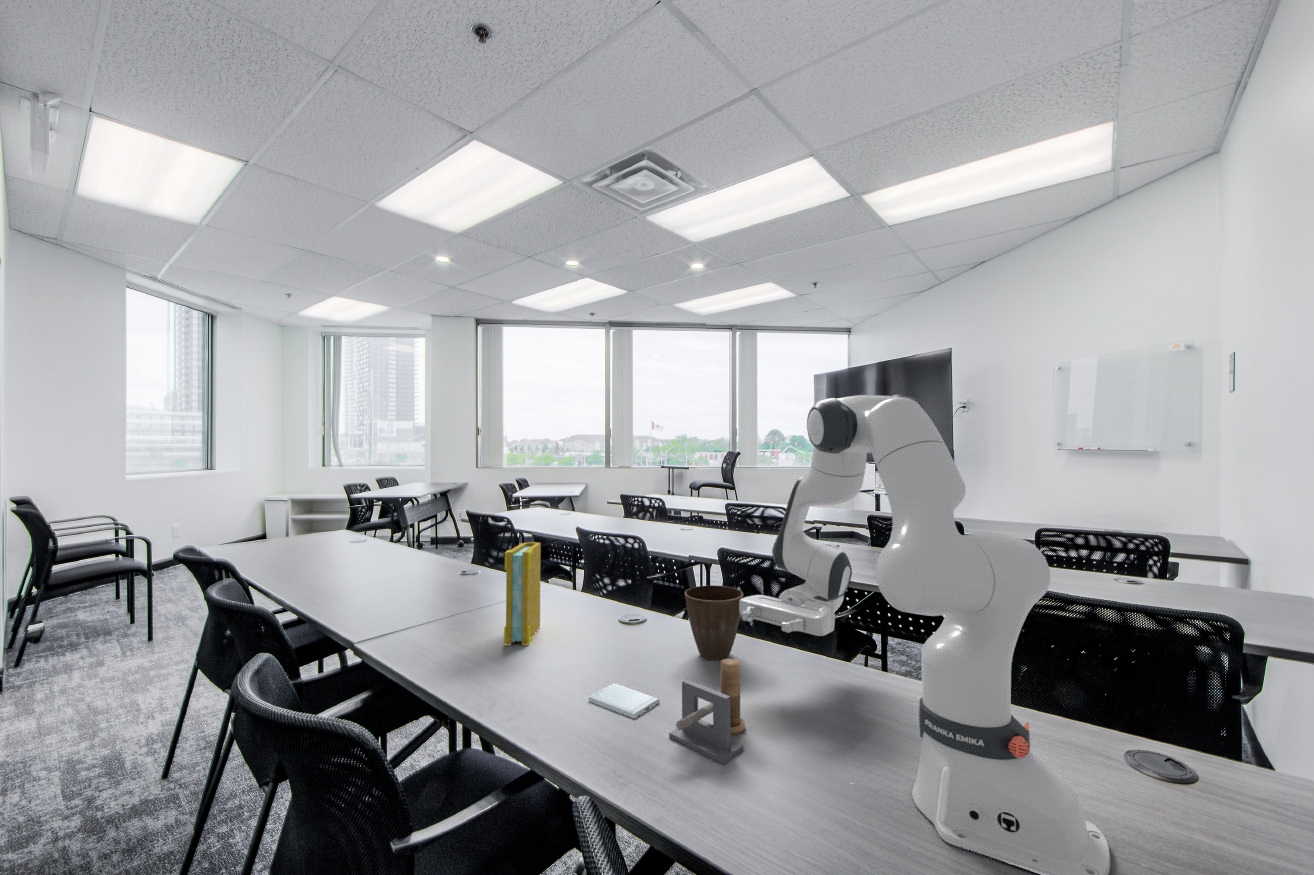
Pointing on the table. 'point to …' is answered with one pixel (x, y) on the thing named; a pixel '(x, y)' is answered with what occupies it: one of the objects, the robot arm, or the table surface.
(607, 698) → the hard drive
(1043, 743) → the table surface
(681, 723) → the hammer
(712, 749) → the grey square frame stand
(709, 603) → the plant pot
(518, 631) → the book
